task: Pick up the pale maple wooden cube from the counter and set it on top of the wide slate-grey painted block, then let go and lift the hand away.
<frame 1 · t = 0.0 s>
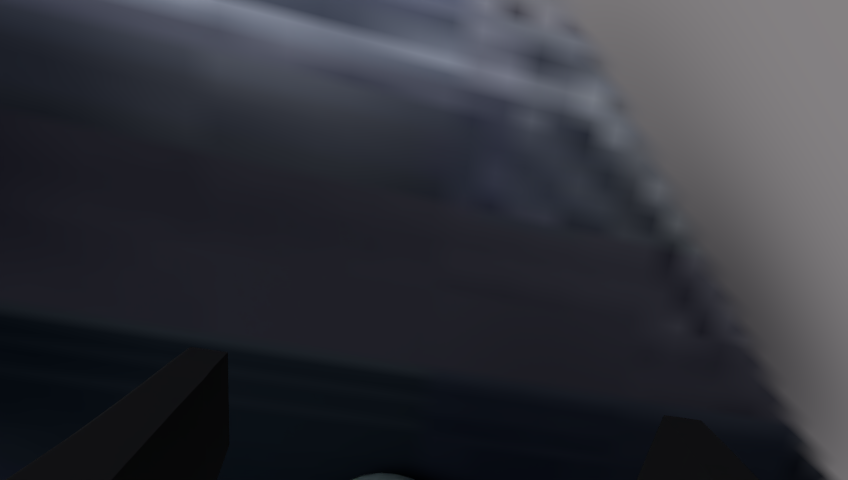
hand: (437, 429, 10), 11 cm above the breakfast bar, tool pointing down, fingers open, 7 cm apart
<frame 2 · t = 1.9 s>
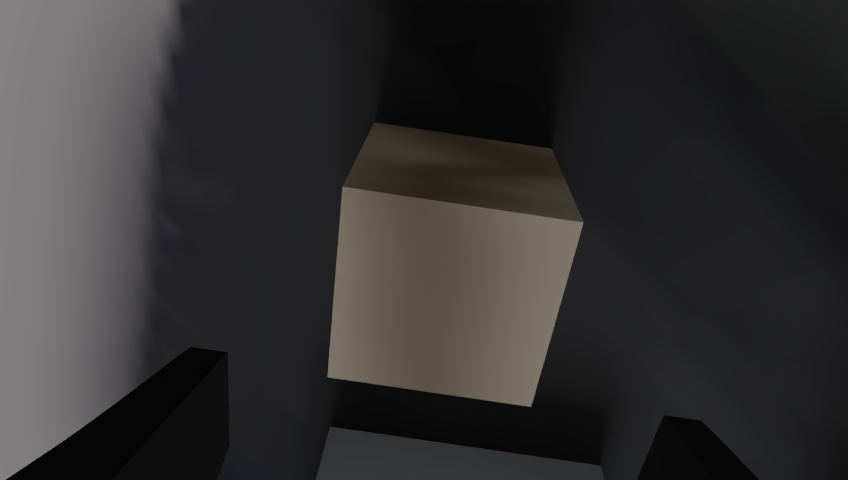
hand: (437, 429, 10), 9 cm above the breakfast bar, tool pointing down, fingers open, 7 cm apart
maple cube: (449, 215, 18), on the breakfast bar
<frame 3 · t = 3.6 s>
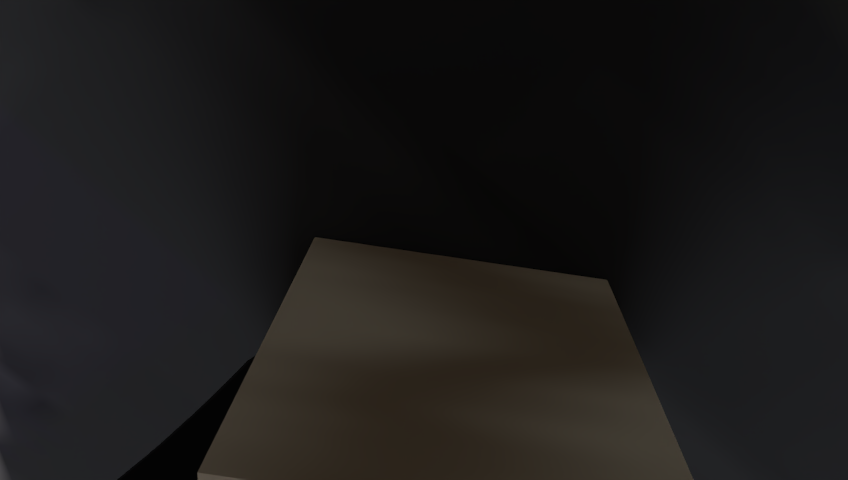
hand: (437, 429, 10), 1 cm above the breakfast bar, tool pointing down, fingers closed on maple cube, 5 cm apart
maple cube: (439, 374, 11), on the breakfast bar, touching gripper
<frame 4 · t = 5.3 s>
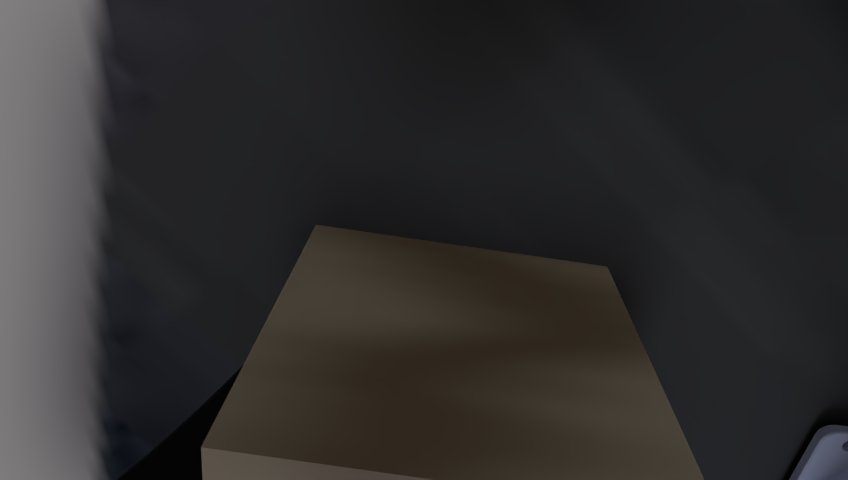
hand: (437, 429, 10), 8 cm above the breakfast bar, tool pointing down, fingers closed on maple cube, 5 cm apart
maple cube: (440, 362, 11), point 7 cm above the breakfast bar, touching gripper
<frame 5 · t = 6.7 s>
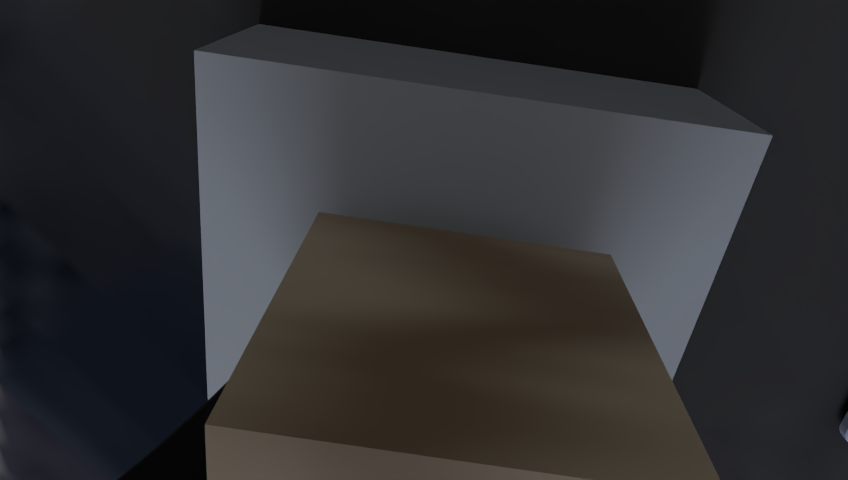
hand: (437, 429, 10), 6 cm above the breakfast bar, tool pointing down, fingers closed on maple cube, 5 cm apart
maple cube: (443, 351, 11), point 5 cm above the breakfast bar, touching gripper
grey base block: (446, 244, 16), on the breakfast bar
when the fingers open (6 cm above the breakfast bar, at t = 7.5 s): maple cube drops 1 cm, resting on grey base block.
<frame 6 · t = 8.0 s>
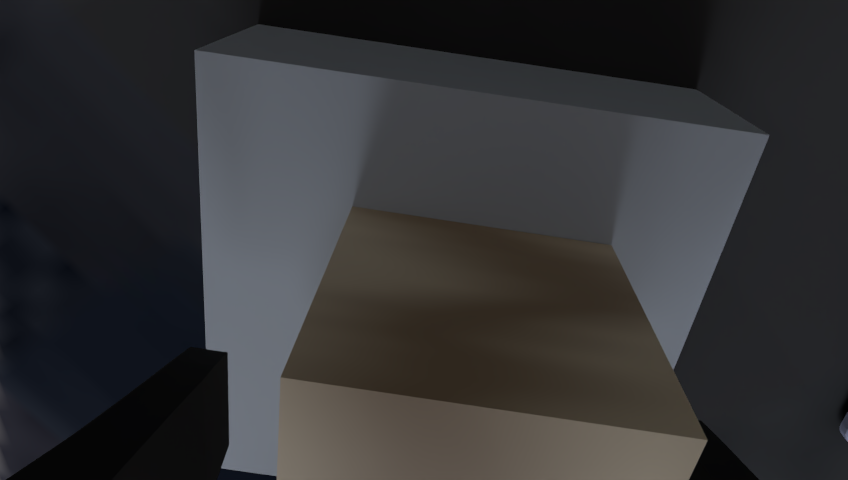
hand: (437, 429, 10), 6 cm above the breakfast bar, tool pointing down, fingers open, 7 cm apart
maple cube: (460, 332, 12), point 4 cm above the breakfast bar, touching grey base block
grey base block: (445, 243, 16), on the breakfast bar, touching maple cube
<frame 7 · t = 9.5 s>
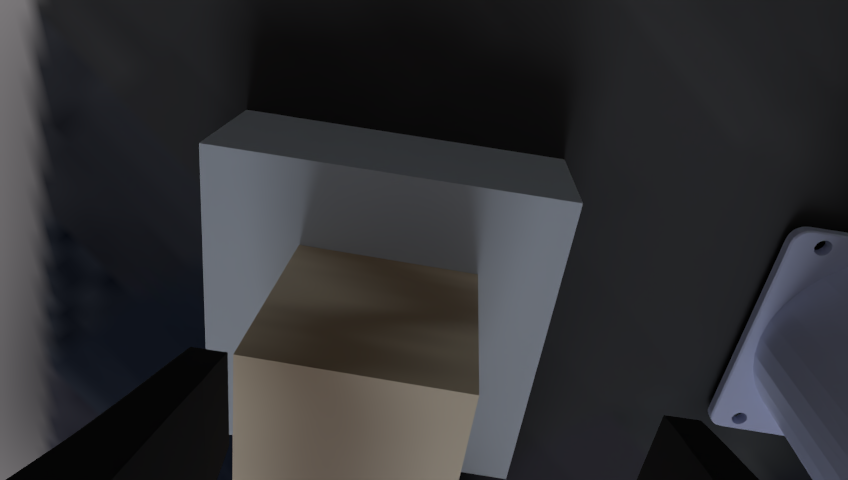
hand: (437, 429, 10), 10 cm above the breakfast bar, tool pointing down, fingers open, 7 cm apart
maple cube: (378, 333, 18), point 4 cm above the breakfast bar
grey base block: (389, 267, 21), on the breakfast bar
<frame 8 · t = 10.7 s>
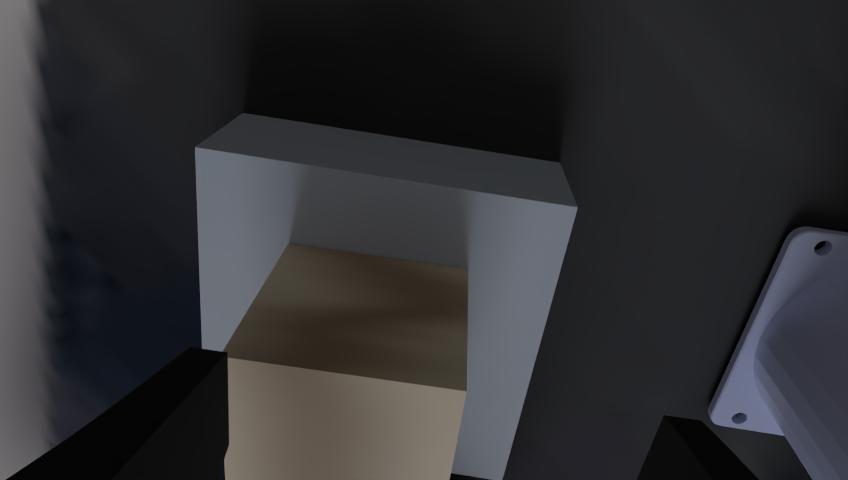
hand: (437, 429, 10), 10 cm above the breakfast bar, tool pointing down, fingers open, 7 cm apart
maple cube: (371, 330, 17), point 4 cm above the breakfast bar, touching grey base block
grey base block: (385, 269, 21), on the breakfast bar, touching maple cube
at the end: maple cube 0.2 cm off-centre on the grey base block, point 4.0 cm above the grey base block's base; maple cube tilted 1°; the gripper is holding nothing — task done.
